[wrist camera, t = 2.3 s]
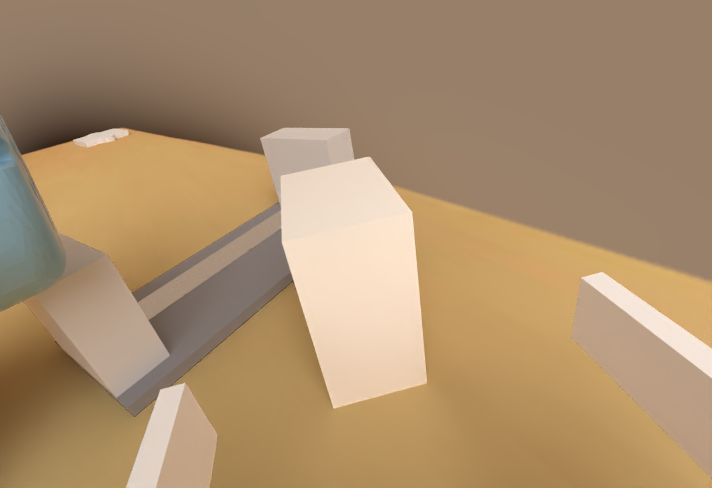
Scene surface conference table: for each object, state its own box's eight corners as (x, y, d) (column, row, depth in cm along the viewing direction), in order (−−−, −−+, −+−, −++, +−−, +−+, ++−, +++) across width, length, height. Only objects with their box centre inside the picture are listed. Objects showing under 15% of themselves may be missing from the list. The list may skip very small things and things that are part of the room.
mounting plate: (74, 145, 123) (70, 139, 122) (113, 133, 131) (111, 128, 130) (90, 149, 112) (87, 143, 111) (132, 136, 120) (130, 130, 119)
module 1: (116, 397, 24) (33, 294, 20) (60, 346, 30) (-15, 256, 25) (170, 355, 27) (107, 254, 22) (109, 315, 33) (49, 228, 28)
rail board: (134, 416, 24) (126, 407, 23) (61, 349, 31) (54, 340, 31) (373, 212, 44) (371, 204, 43) (295, 199, 51) (293, 192, 50)
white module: (333, 408, 22) (281, 242, 16) (318, 310, 30) (280, 174, 24) (427, 383, 23) (412, 212, 16) (388, 293, 31) (368, 155, 24)
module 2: (342, 218, 41) (326, 140, 37) (279, 207, 47) (258, 138, 42) (361, 203, 44) (349, 128, 39) (299, 194, 50) (282, 127, 45)
